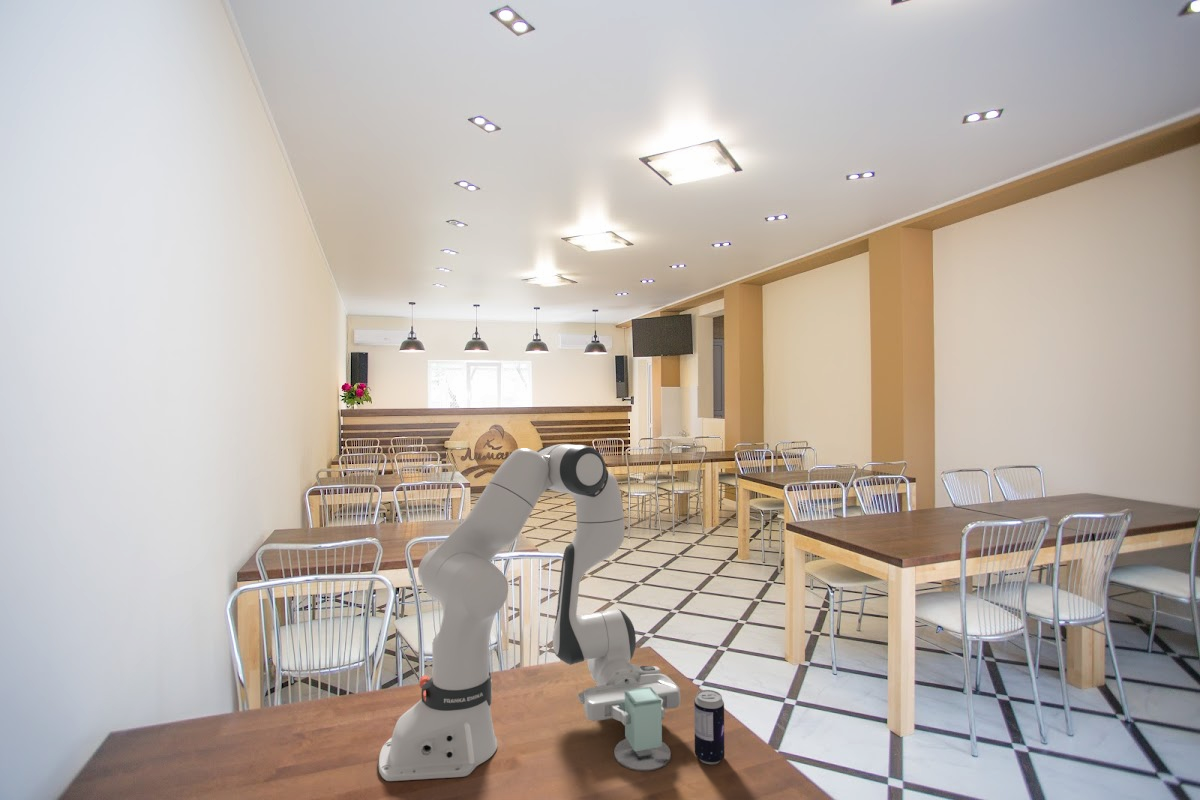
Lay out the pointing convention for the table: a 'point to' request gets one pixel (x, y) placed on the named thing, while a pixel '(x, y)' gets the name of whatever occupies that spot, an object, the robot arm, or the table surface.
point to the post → (641, 756)
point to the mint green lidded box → (643, 718)
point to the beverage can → (709, 726)
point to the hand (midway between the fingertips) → (644, 717)
